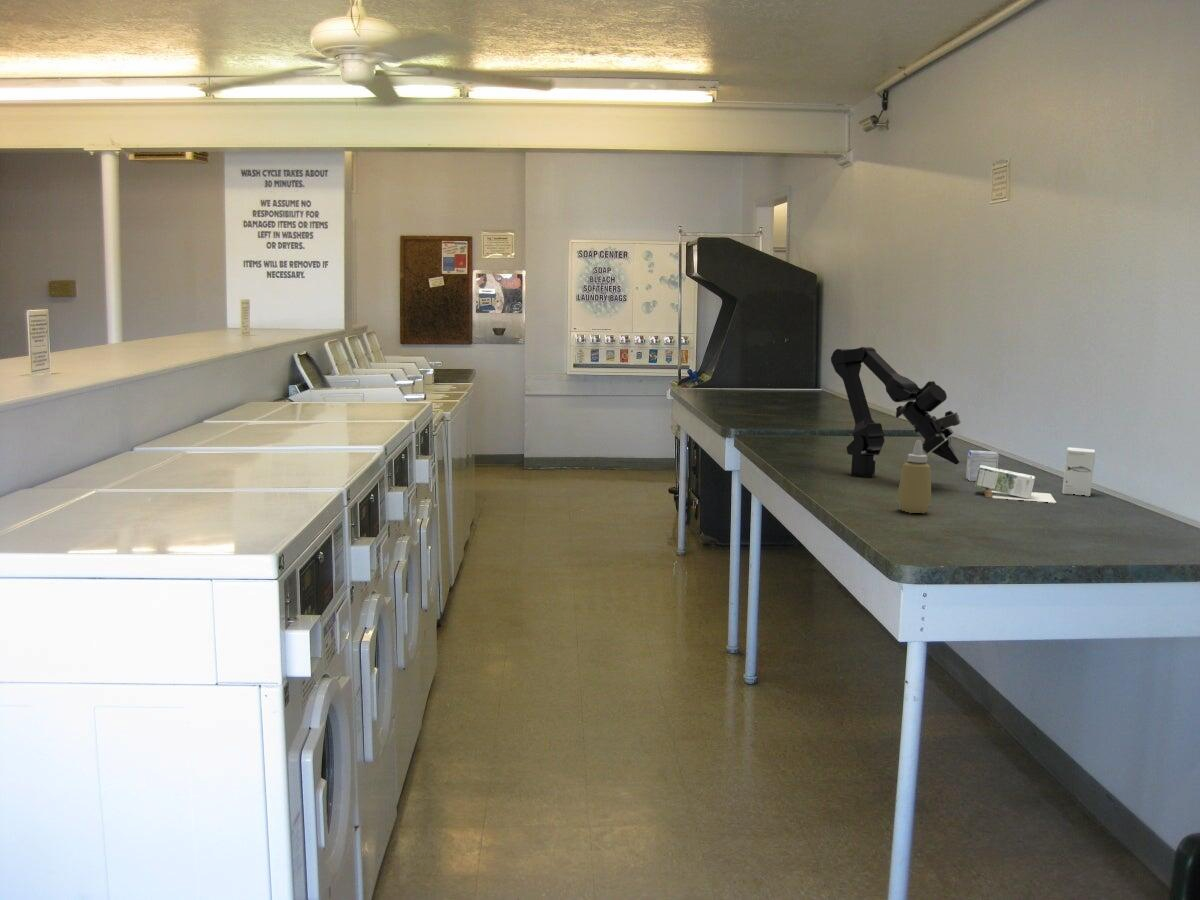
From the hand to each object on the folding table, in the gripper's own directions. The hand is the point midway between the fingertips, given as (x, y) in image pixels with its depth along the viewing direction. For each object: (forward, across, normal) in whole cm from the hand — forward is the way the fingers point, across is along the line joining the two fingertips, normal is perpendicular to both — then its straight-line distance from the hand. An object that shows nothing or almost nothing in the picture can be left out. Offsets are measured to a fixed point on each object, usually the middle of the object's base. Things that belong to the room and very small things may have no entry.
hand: (958, 463), depth 301 cm
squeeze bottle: (+2, -39, +9) cm, 40 cm away
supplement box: (+27, +17, -16) cm, 36 cm away
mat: (+18, +2, -7) cm, 19 cm away
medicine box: (+9, +23, +3) cm, 25 cm away
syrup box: (+6, -1, -2) cm, 6 cm away
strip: (+11, 0, -1) cm, 11 cm away
